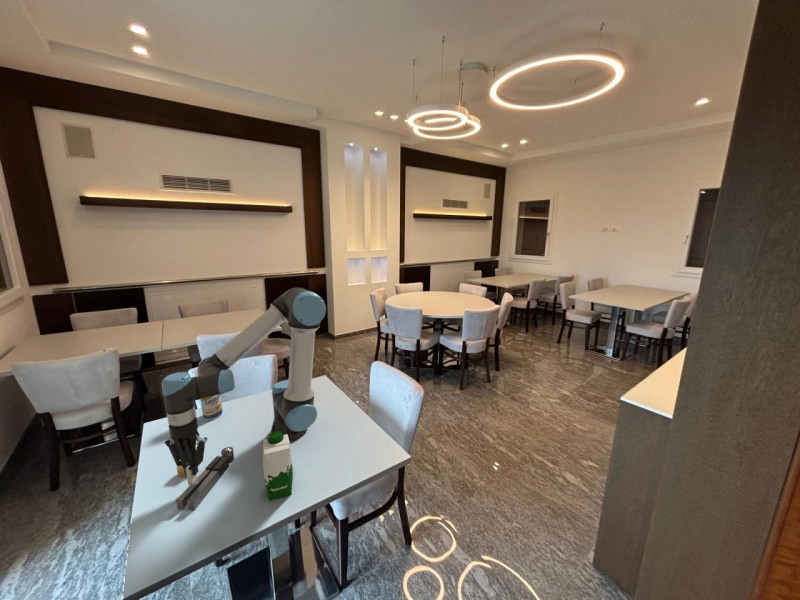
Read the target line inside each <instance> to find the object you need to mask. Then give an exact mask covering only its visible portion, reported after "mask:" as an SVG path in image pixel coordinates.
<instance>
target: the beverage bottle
mask: <svg viewBox="0 0 800 600" xmlns="http://www.w3.org/2000/svg"><path fill="white" fill-rule="evenodd" d="M200 405H201V413H202V418H203V419H204V420H206V421H207V420H208V421H209V420H214V419H218V418H219V417H220V416H222V414H223V412H224V411H223V410H224V409H223V405H222V394H219V395H215V396H211V397H207V398H203V399H200Z"/></svg>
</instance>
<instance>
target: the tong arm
mask: <svg viewBox="0 0 800 600" xmlns="http://www.w3.org/2000/svg"><path fill="white" fill-rule="evenodd" d="M221 458H222V455H221V456H218V455H217V456H215V458H213V459H212V461H210V462H209V464H208V465H206V466H205V469H204V470H203V471H202V472H201V473H200V475H197V476H198V478H197V479H196V480H195V481H194V482H193V483H192V484H191V485H188V487H187V488H186V489H185V490H183V492H181V494H180V495H179V496H178V497H177V498H176V500H175V501H176V506H177V507H176V508H177V510H183V511H184V510H185V509H186V508H188V504H187V500H188V499H189V498H190V497H191V495H192V494H193V493H194V492H195V491H196V490H197V488H198V487H199V486H200V485H201V484H202V482H203V481H204V480H205V479H206V478H207V476H208V475H209V474H210V473H211V472H212V471H213V468H214V467H215V466H216V464H217V463H218V462H219V461H220V460H221Z"/></svg>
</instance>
